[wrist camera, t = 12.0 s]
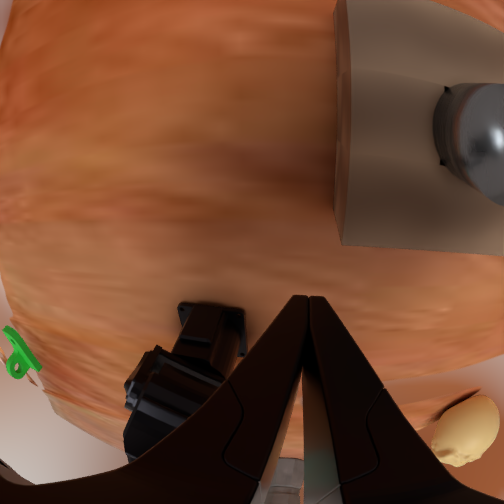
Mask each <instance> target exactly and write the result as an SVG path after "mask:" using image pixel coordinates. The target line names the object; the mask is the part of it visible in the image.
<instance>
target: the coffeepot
mask: <svg viewBox="0 0 504 504" xmlns="http://www.w3.org/2000/svg"><path fill="white" fill-rule="evenodd" d="M303 480H304V460H301V459H296V458H279V459H278V463H277V466H276V469H275V472H274V475H273V478H272V481H271V484H270V487H269V490H268V493H267V496H266V499H265V502H264V504H300V496H299V493H300V489H301V486H302V483H303Z"/></svg>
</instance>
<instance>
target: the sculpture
mask: <svg viewBox="0 0 504 504" xmlns="http://www.w3.org/2000/svg"><path fill="white" fill-rule="evenodd" d="M499 423H500V419H499V412H498V409H497V407H496V405H495V404H494V402H493V401H492V400H491V399H490V398H488V397H487V396H484V395H477V396H474V397H471V398H469V399H467V400H465V401H463V402H461V403H459V404H457V405H455V406H453V407H451V408H450V409H448V410H447V411H445V412H444V413H443V415H442V416H441V418H440V419H439V422H438V424H437V427H436V431H435V435H434V437H433V439H432V444H431V447H432V452H433V453H434V454H435V456H436V457H437V458H438V459H439V461H440V462H444V463H448V464H452V465H453V466H455V467H459V466H462V465H464V464H465V463H467V462H468V461H469V462H472V461H474V460H475V459H478V458H480V457H481V454H482V453H483V452H484V451H485V450H486V449H487V448H488V447H489V446H490V445H491V443H493V441H494V439H495V438H496V435H497V433H498V430H499Z"/></svg>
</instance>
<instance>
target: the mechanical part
mask: <svg viewBox="0 0 504 504" xmlns="http://www.w3.org/2000/svg"><path fill="white" fill-rule="evenodd" d="M2 331H3V332H4V334H5V335H6V337H7V339H8V340H9V341H10V343H11V344H12V346H13V348H14V352H13V353H12V355H11V356H10V357H9V359H8V360H7V363H6V368H7V371H8V373H9V374H10V375H11V376H12V377H14V378H15V379H21V378H22V377H23V376H24V375H25V374H26V372H27V371H28V369H29V368H30V367H31V368H32V369H34V370H36V371H38V372H39V371H40V370H41V368H42V366H41V365H40V363H39V362H38V361H37V359H36V358H35V357H34V355H33V354H32V352H31V351H30V349H29V348H28V346H27V345H26V343H25V342H24V340H23V339H22V338H21V337H20V335H19V333H18V332H17V331H16V330H15V329H13V328H11V327H10V326H8V325H7V326H5V328H4V329H3V330H2ZM16 363H18V364H19V367H18V370H16V371H15V369H14V367H15V364H16Z"/></svg>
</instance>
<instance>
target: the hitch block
mask: <svg viewBox="0 0 504 504" xmlns="http://www.w3.org/2000/svg"><path fill="white" fill-rule="evenodd" d="M333 15H334V27H335V43H336V65H337V145H336V168H335V186H334V200H333V210H334V214H335V218H336V223H337V227H338V231H339V235H340V240H341V244H342V245H349V246H366V247H382V248H398V249H413V250H428V251H442V252H456V253H469V254H482V255H495V256H504V206H501V205H498V204H496V203H494V202H493V201H491V200H490V199H488V198H487V197H486V196H484V195H483V194H481V193H480V192H478V191H477V190H476V189H474V188H473V187H471V186H470V185H468V184H467V183H465V182H463V181H462V180H460V179H459V178H457V177H456V176H454V175H453V174H452V173H451V172H450V171H449V170H448V169H447V168H446V167H445V165H444V164H443V162H442V161H441V159H440V157H439V155H438V152H437V150H436V147H435V143H434V138H433V130H432V128H433V115H434V110H435V107H436V104H437V102H438V100H439V98H440V97H441V95H442V94H443V93H444V92H445V91H446V90H447V89H448V88H450V87H451V86H453V85H456V84H459V83H498V84H504V33H503V32H501V31H499V30H497V29H496V28H494V27H492V26H490V25H488V24H486V23H484V22H482V21H480V20H478V19H475V18H473V17H471V16H469V15H467V14H464V13H462V12H460V11H457V10H455V9H452V8H449V7H447V6H444V5H441V4H439V3H436V2H433V1H430V0H338V1H337V4H336V7H335V10H334V13H333Z"/></svg>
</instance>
